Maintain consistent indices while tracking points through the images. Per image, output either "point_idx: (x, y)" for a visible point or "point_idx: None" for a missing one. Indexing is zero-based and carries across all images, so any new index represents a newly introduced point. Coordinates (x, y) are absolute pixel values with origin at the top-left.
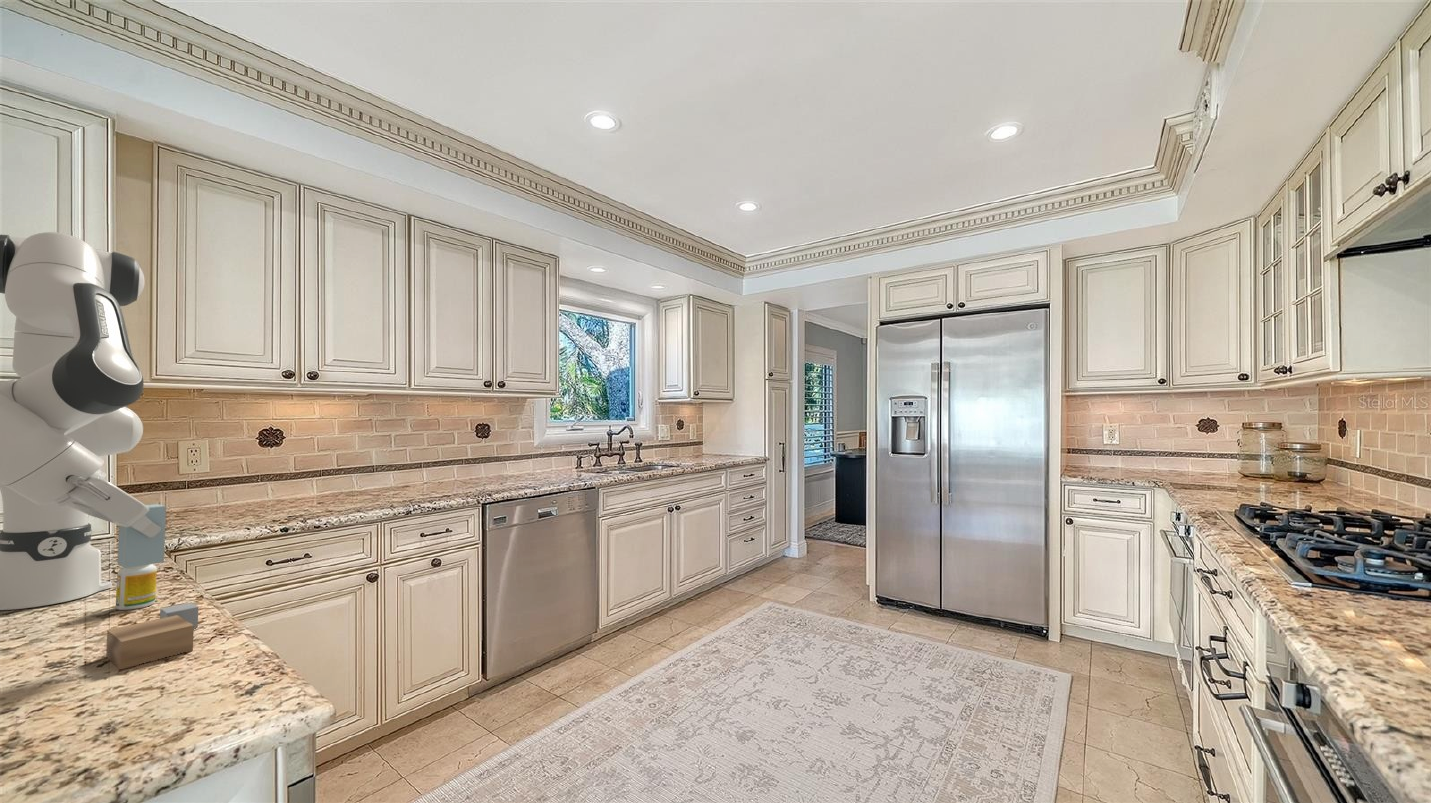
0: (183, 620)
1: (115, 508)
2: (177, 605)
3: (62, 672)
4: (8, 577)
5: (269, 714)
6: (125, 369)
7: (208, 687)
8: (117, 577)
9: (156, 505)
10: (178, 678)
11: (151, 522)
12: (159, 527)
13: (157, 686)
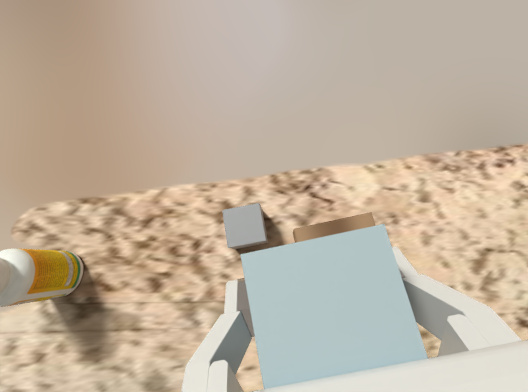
0: (332, 222)
1: None
2: (226, 226)
3: None
4: None
5: None
6: None
7: (518, 210)
8: (10, 305)
9: (312, 261)
10: (463, 235)
11: (425, 277)
12: (399, 251)
13: (478, 255)
